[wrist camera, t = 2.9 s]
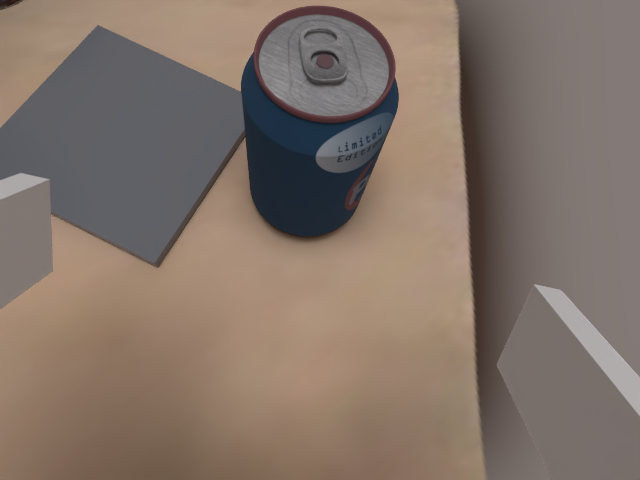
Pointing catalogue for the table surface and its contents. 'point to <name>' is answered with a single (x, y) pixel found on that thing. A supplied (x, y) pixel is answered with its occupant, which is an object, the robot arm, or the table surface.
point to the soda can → (316, 116)
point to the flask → (8, 3)
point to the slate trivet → (125, 142)
